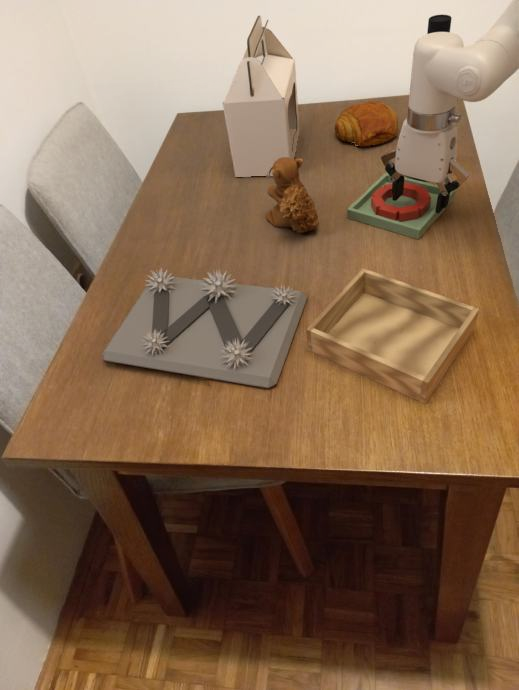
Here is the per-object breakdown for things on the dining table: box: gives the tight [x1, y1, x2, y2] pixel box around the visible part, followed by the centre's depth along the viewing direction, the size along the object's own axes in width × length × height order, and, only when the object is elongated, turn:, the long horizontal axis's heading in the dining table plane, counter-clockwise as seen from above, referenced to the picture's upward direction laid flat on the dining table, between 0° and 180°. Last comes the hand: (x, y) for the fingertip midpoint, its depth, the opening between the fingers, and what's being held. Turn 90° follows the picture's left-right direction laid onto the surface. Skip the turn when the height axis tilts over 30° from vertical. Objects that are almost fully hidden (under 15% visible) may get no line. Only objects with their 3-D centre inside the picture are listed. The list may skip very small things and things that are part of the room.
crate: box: [305, 267, 480, 404], centre depth 80 cm, size 20×17×5 cm
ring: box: [371, 182, 431, 222], centre depth 105 cm, size 11×11×2 cm
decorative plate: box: [101, 267, 308, 389], centre depth 87 cm, size 30×22×7 cm
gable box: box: [222, 15, 301, 178], centre depth 119 cm, size 22×13×28 cm, turn 172°
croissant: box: [334, 100, 399, 147], centre depth 127 cm, size 14×16×8 cm
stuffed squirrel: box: [264, 157, 320, 234], centre depth 103 cm, size 10×14×13 cm
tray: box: [346, 172, 457, 240], centre depth 106 cm, size 16×16×2 cm
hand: (418, 203), depth 103 cm, fingers open, 8 cm apart
